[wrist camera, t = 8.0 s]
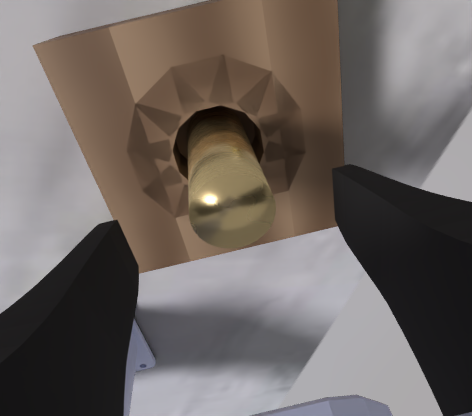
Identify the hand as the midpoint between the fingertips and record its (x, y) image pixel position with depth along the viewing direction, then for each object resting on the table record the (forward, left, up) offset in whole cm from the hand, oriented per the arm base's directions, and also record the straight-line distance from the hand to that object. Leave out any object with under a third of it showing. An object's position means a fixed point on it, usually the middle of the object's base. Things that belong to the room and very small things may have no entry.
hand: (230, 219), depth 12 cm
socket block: (0, 0, -9) cm, 9 cm away
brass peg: (0, 0, -8) cm, 8 cm away
